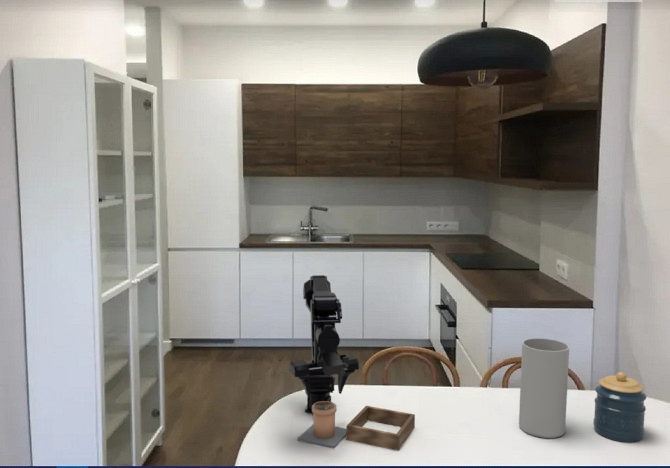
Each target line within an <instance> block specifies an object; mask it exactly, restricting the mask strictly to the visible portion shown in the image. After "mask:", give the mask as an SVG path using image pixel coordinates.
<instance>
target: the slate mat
mask: <svg viewBox="0 0 670 468" xmlns="http://www.w3.org/2000/svg"><path fill="white" fill-rule="evenodd" d="M346 429H347V428H345V427H340V426H337V425H335V435H334V436H333V437H331V438H327V439H321V438H317V437H315V436H314V423H313V424H311V426H309V427H308V428H307V429H306V430H305V431H304V432H303V433H302V434H300V435H299V436H298V437H297V441H300V442H305V443H308V444H313V445H317V446H322V447H326V448H331V449H335V448H336V447H337V446H338V445H339V444H340V443H341V442H342V440H344V438H345V437H346Z"/></svg>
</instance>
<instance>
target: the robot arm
mask: <svg viewBox="0 0 670 468" xmlns="http://www.w3.org/2000/svg"><path fill="white" fill-rule="evenodd" d="M331 286H332V285H331V282H330V281H329V280H328V276H327V275H324V274H323V275H321V274H320V275H318V274H317V275H315V274H313V275H312V276H310V277H309V280H306V281H305V282H304V283H303V288H302V294H303V300H305V301H304V302H305V306H306V308H307V309H308V311H309V313H310V332H311V333H310V334H311V335H310V337H311V361H310V362H309V363H308V362H307V361H305V360H304V359H300V360H299V359H298V360H291V361H290V362H289V367H288V368H289V369H288V370H289V372H290V373H291V374H292V375H293V376H294V377H295V378H298V379H299V380H300V381H301V383H302V386H303V388H304V392H305V393H304V394H306V397H307V400H306V401H307V402H306V408H305V409H304V412H305V413H310V414H313V412H312V405H313V404H314V403H316V402H320V401H329V402H332V396H331V393H334V391H335V383H336V377H335V375H337V389H338V394H341V395H342V393H343V390H344V387H345V386H346V385H345V384H346V382H347V380H348V377H349V376H350V375H352V374H354V373H355V372H356V371H357V370H359V369H360V360H359V359H358V358H356V356H355V355H353V354H351V353H350V354H348V353H344V354H343V353H342V354H339V353H338V347H339V345H340V343H341V339H340V338H341V337H340V335H339V333H338V331H337V329H336V324H341V323H342V319H343V312H342V311H343V309H342V303H341V302H340V299H339V298H337V295H336V294H335V293H334V292H332V289H331Z"/></svg>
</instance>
